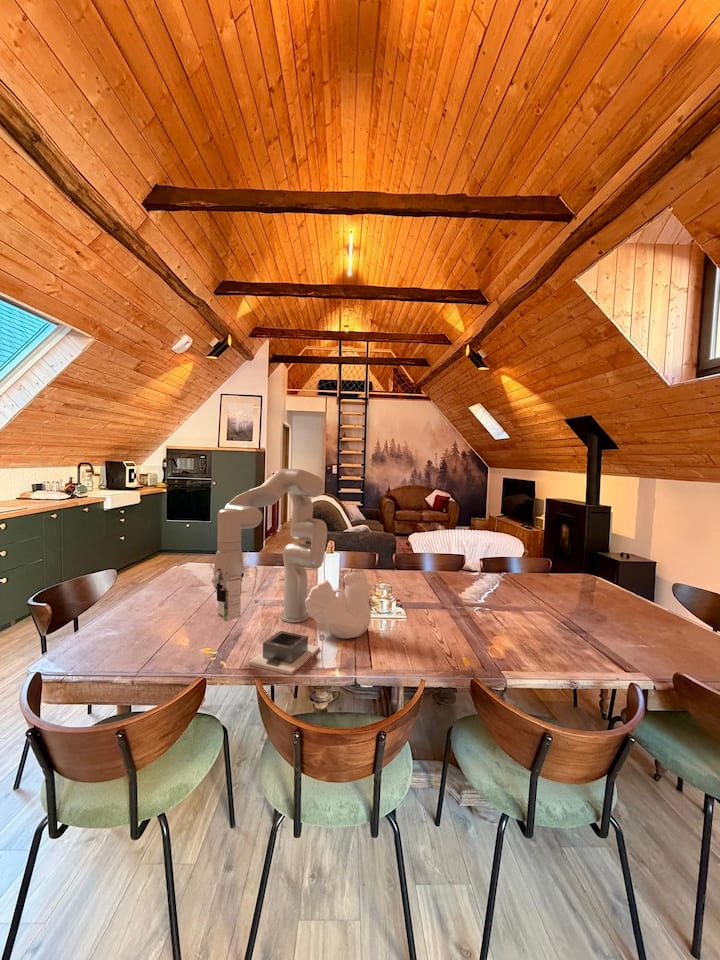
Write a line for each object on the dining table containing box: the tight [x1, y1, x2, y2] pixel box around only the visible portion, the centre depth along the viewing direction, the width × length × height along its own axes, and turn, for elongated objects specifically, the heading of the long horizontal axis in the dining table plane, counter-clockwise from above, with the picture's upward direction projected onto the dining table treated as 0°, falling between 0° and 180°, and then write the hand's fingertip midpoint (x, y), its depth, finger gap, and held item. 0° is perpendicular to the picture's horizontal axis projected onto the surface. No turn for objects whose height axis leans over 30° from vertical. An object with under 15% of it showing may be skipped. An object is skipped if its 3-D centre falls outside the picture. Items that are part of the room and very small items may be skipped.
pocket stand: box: [247, 630, 321, 676], centre depth 149 cm, size 20×16×6 cm
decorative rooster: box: [305, 571, 373, 639], centre depth 170 cm, size 25×16×25 cm, turn 81°
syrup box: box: [217, 575, 242, 622], centre depth 148 cm, size 6×6×14 cm
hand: (229, 597), depth 148 cm, fingers closed on syrup box, 7 cm apart
